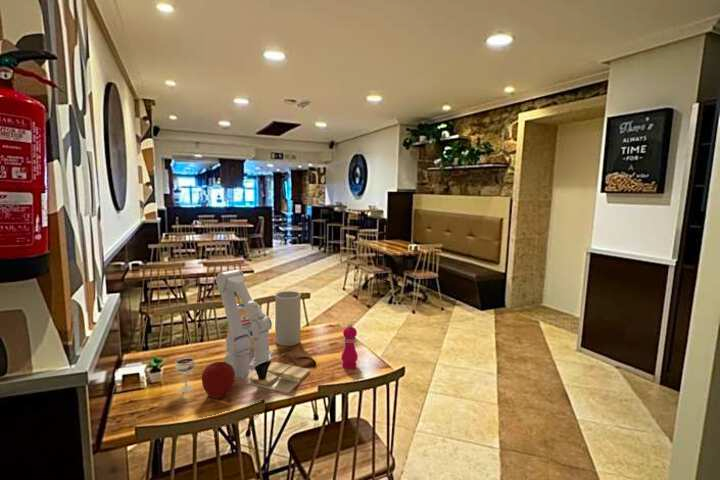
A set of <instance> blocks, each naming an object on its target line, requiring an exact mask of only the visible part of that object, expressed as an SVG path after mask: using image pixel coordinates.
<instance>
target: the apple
mask: <svg viewBox="0 0 720 480" xmlns="http://www.w3.org/2000/svg"><path fill="white" fill-rule="evenodd" d="M235 377H236V376H235V371H234V369H233V366H231V365H230V364H228V363H225V361H217V362H211V363H209V365H206V367H205V368H204V370H203V372H202V374H201V383H202V387H203V389H204V391H205V392H206V395H208V397H210V398H212V399H214V400H218V399H222V398H224V397H225V396H227V395H228V394H230V392H231V390H232V388H233V384H234V382H235Z"/></svg>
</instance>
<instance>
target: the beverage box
mask: <svg viewBox="0 0 720 480" xmlns="http://www.w3.org/2000/svg"><path fill="white" fill-rule="evenodd" d="M244 306H245V305H244V304H243V302H241V303H237V307H238V311H239V315H240V318H241V322H242V326H243V329H245V330H247V331H249V334H250V336H251V338H252V340H253V346H252V348H251V349H250V351H251V350H253V351H254V337H253V333H252V330H251V327H250V325H251V322H250V320H249V318H248V316H247V315H246V313H245V311H244ZM229 333H230V328H229V327H228V334H229ZM239 337H242V336H239ZM239 337H236V338H239ZM236 338H235V339H236Z"/></svg>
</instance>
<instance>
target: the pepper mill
mask: <svg viewBox="0 0 720 480" xmlns="http://www.w3.org/2000/svg"><path fill="white" fill-rule="evenodd" d="M342 331H343V332H342V334H343V337H344V338H343V341H344V343H345V344H344V348H343V351H342V353H341V361H342V365H341V367H342V368H343V369H346V370H354V369H356V368H357V360H358V352H357V350H356V348H355V342H356V339H357V338H356V337H357V334H358V331H357V329H356V328H355V327H354V326H353V324H352V323H348V325H347V326H346V327H345V328H344V329H343V330H342Z"/></svg>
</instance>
